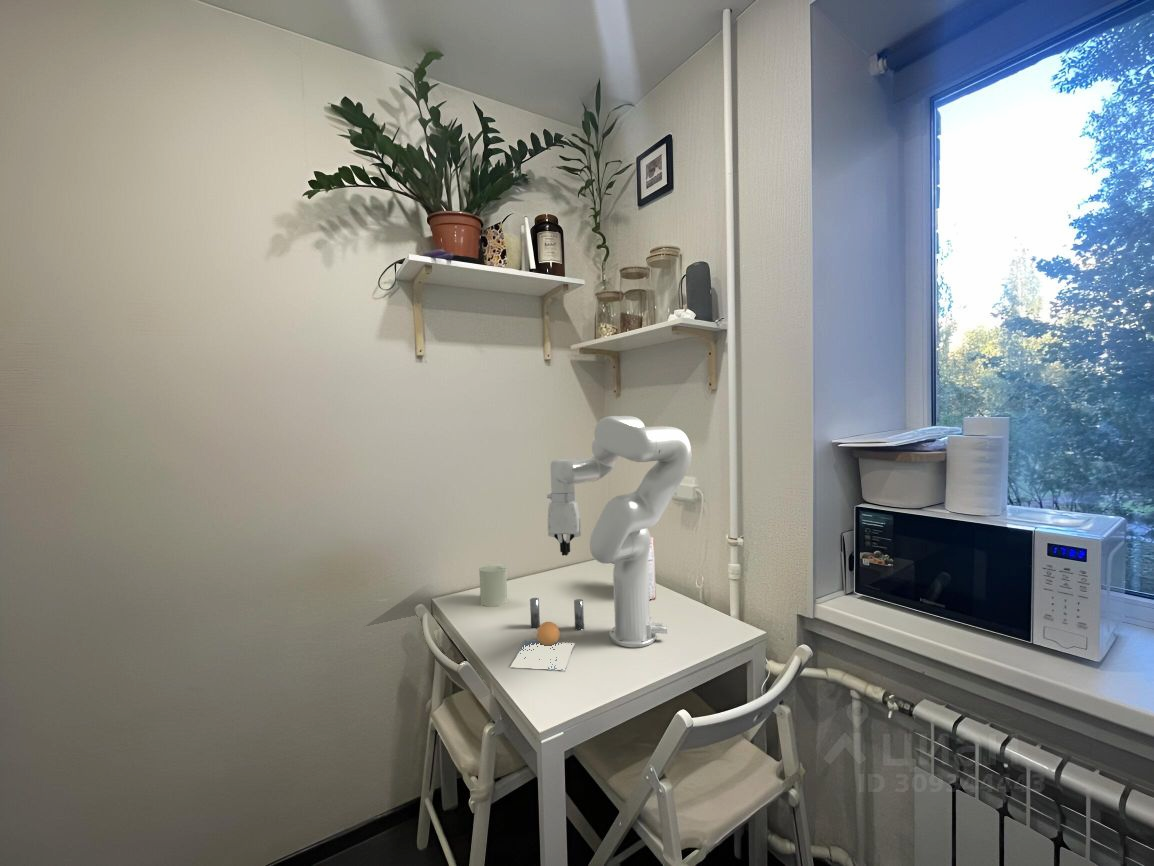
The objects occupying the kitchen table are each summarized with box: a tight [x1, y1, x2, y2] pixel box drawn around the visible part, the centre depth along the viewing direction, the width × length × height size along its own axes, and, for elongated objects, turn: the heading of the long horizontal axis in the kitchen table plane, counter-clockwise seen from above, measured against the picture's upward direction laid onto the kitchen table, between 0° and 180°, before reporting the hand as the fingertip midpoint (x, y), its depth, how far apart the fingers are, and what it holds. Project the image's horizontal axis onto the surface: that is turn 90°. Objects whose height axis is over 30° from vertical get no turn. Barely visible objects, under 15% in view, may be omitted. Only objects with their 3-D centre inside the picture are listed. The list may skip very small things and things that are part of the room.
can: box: [478, 563, 509, 607], centre depth 154 cm, size 9×9×12 cm
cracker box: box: [648, 535, 657, 601], centre depth 155 cm, size 14×6×21 cm, turn 24°
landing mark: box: [514, 639, 572, 671], centre depth 116 cm, size 14×14×1 cm
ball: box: [536, 621, 560, 646], centre depth 121 cm, size 6×6×6 cm
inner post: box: [573, 598, 585, 631], centre depth 130 cm, size 3×3×8 cm
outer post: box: [529, 597, 541, 629], centre depth 132 cm, size 3×3×8 cm
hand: (565, 554), depth 146 cm, fingers closed
